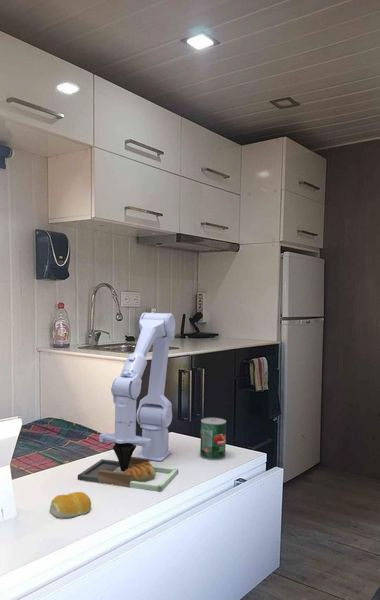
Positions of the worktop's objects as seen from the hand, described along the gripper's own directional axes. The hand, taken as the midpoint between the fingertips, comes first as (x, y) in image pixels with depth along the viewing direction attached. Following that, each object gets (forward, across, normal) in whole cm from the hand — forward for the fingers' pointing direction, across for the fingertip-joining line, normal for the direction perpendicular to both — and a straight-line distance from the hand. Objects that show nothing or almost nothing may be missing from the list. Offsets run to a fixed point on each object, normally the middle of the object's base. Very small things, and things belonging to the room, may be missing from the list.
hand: (124, 470), depth 135 cm
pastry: (+2, +4, -1) cm, 5 cm away
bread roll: (+2, -2, -24) cm, 24 cm away
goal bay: (+1, +9, 0) cm, 9 cm away
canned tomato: (+2, +19, +25) cm, 31 cm away
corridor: (+1, 0, 0) cm, 1 cm away
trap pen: (+1, -7, 0) cm, 7 cm away
